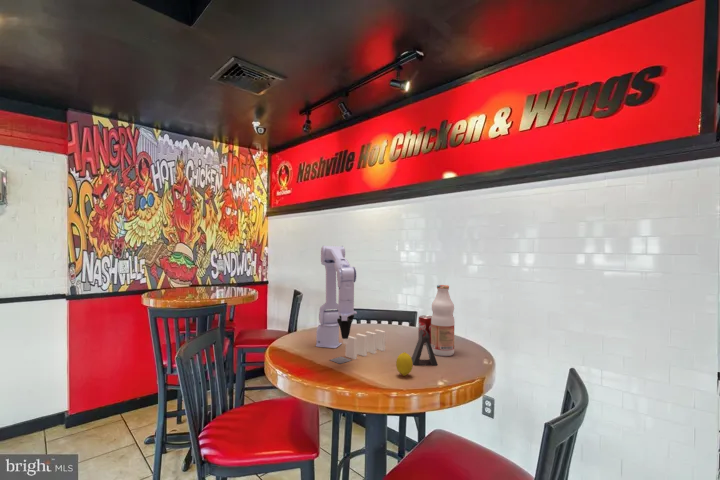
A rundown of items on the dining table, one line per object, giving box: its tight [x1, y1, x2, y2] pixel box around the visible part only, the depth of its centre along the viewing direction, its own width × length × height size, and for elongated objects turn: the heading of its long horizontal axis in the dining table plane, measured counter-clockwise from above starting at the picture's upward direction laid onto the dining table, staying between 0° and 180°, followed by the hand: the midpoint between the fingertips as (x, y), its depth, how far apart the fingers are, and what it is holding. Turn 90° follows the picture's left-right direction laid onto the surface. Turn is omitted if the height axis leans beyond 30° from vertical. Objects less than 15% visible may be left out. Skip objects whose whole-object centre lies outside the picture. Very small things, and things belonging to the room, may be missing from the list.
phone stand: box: [411, 329, 439, 367], centre depth 135 cm, size 9×6×12 cm, turn 89°
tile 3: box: [355, 333, 368, 357], centre depth 144 cm, size 2×5×8 cm, turn 44°
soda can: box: [417, 314, 432, 346], centre depth 163 cm, size 7×7×12 cm
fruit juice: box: [431, 284, 455, 357], centre depth 148 cm, size 9×9×28 cm
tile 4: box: [344, 335, 358, 360], centre depth 140 cm, size 2×5×8 cm, turn 44°
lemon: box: [395, 351, 414, 377], centre depth 121 cm, size 6×6×8 cm
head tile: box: [373, 329, 386, 352], centre depth 152 cm, size 2×5×8 cm, turn 44°
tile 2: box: [364, 331, 377, 355], centre depth 148 cm, size 2×5×8 cm, turn 44°
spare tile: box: [342, 319, 349, 345], centre depth 132 cm, size 2×5×8 cm, turn 177°
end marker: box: [329, 356, 353, 365], centre depth 137 cm, size 6×6×1 cm
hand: (345, 336), depth 131 cm, fingers closed on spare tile, 5 cm apart
